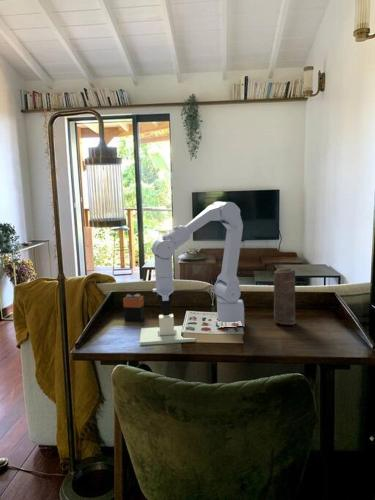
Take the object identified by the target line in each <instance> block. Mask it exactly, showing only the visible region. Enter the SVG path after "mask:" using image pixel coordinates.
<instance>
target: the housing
mask: <svg viewBox="0 0 375 500" xmlns="http://www.w3.org/2000/svg"><path fill="white" fill-rule="evenodd" d="M174 320H175V318H174V313H170V315H169V316H163V314H159V315H158V324H159V327H160V335H173V334H174V326H175V322H174Z"/></svg>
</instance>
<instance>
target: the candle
mask: <svg viewBox="0 0 375 500" xmlns="http://www.w3.org/2000/svg"><path fill="white" fill-rule="evenodd" d="M273 321H274V322H275V323H277V324H280V325H291V326H292V325H296V270H295V269H294V268H282V267H281V268H278V269H277V270H274V272H273Z"/></svg>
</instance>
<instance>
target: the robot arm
mask: <svg viewBox="0 0 375 500" xmlns="http://www.w3.org/2000/svg"><path fill="white" fill-rule="evenodd" d="M211 221H212V222H213V221H214V222H215V221H218V222H220V223H221V224H222V225H223V226H224V227H225V229H226V233H225V242H224V249H223V257H222V265H221V272H220V274H218V275H217V278H216V282H215V283H214V285H213V293H214V294H215V295H216V308H217V309H216V310H217V311H216V312H217V314H216V315H217V316H216V317H217V318H218V320H220V321H222V322H236V321H237V322H238V321H241V323H242V325H243V327H245V326H246V325H245V305H244V300H243V299H240V297H241V288H240V283H241V282H240V280H239V278H238V276H237V272H238V267H239V258H240V252H241V246H242V245H241V244H242V238H243V237H242V236H243V232H244V231H243V230H244V229H243V228H244V224H243V220H242V216H241V209H240V207H239V206H238V205H237V204H236V203H235V202H234V201H233V202H232V201H220V200H217V201H215V202H213V203H212V204H209V205H208V206H207V207H206V208H205V209H204V210H202V211H201V212H200V213H199V214H197V216H195V217H194V218H193V219H192V220H190V221H189V222H188V223H186V225H181V224H180V225H175V226H173V230H172V231H170V232H169V233H167V234H166V235H165V234H164V235H162V239H161V238H160V239H156V240H155V241H154V242H153V244H152V247H151V248H150V250H151V252H152V254H153V257H154V273H155V274H154V275H155V288H152V292H153V293H157V294H156V299H157V301H158V303H159V305H160V310H161V313H162V314H161V315H163V316H169V315H170V314H171V307H172V302H173V301H174V298H175V296H174V292H175V287H174V275H173V274H174V273H173V258H172V257H173V256H174V253H175V251H176V250H177V249H179V248H181V246H183V245H185V244H186V243H187V242H188V241H190V240H191V236H192V234H193V233H194V232H196V231H197V230H199V229H200V228H202V227H203V226H205V225H206V224H208V223H209V222H211ZM217 318H216V319H217ZM243 327H242V328H243Z"/></svg>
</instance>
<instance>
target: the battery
mask: <svg viewBox="0 0 375 500" xmlns="http://www.w3.org/2000/svg"><path fill="white" fill-rule="evenodd" d="M144 302H145V300H144V295H141V294H140V293H136V294H134V295H133V294H132V295H131V294H129V293H128V294H126V296H125V297H123V299H122V303H123V315H124V316H123V317H124V321H125V322H138V323H139V322H142V321H143V320H144V319H145V317H146V315H145V303H144Z"/></svg>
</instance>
